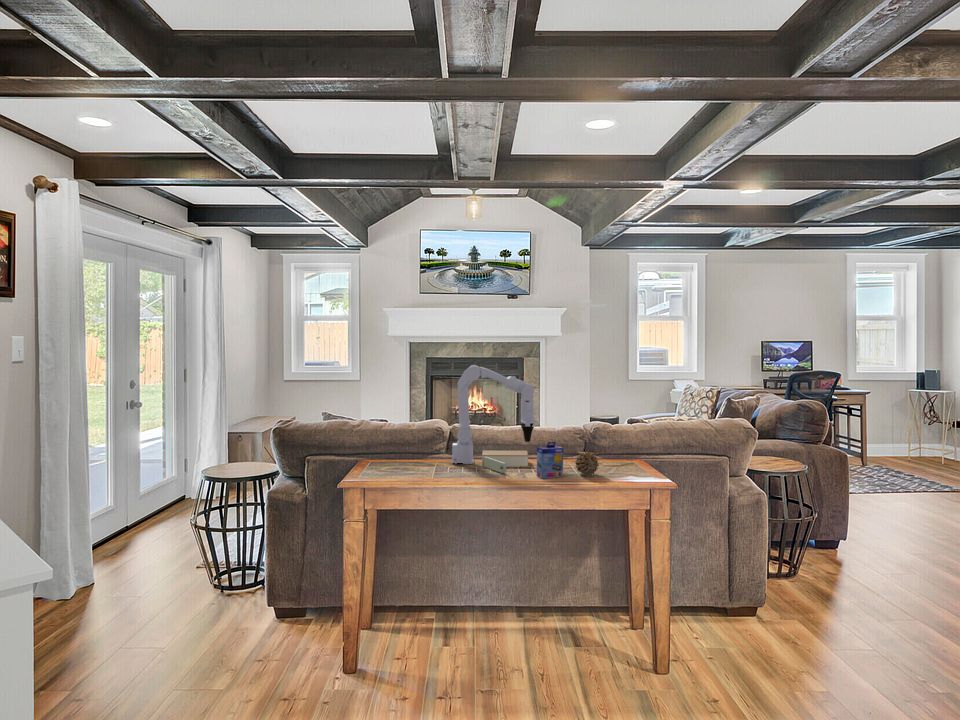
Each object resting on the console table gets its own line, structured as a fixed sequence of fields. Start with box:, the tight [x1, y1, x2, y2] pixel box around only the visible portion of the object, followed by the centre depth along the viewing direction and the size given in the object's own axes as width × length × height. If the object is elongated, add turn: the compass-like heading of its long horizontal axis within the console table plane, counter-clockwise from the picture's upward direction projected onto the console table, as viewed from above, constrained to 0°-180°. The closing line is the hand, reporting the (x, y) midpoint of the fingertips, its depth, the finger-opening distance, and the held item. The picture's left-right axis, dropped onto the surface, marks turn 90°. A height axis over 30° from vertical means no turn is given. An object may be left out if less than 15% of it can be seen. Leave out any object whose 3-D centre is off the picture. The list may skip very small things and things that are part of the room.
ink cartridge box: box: [536, 441, 564, 480], centre depth 267 cm, size 10×6×14 cm, turn 113°
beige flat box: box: [481, 449, 529, 468], centre depth 295 cm, size 20×12×5 cm, turn 88°
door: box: [482, 457, 507, 474], centre depth 281 cm, size 18×2×4 cm, turn 28°
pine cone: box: [574, 451, 600, 476], centre depth 274 cm, size 22×10×10 cm, turn 2°
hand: (527, 440), depth 297 cm, fingers open, 7 cm apart
